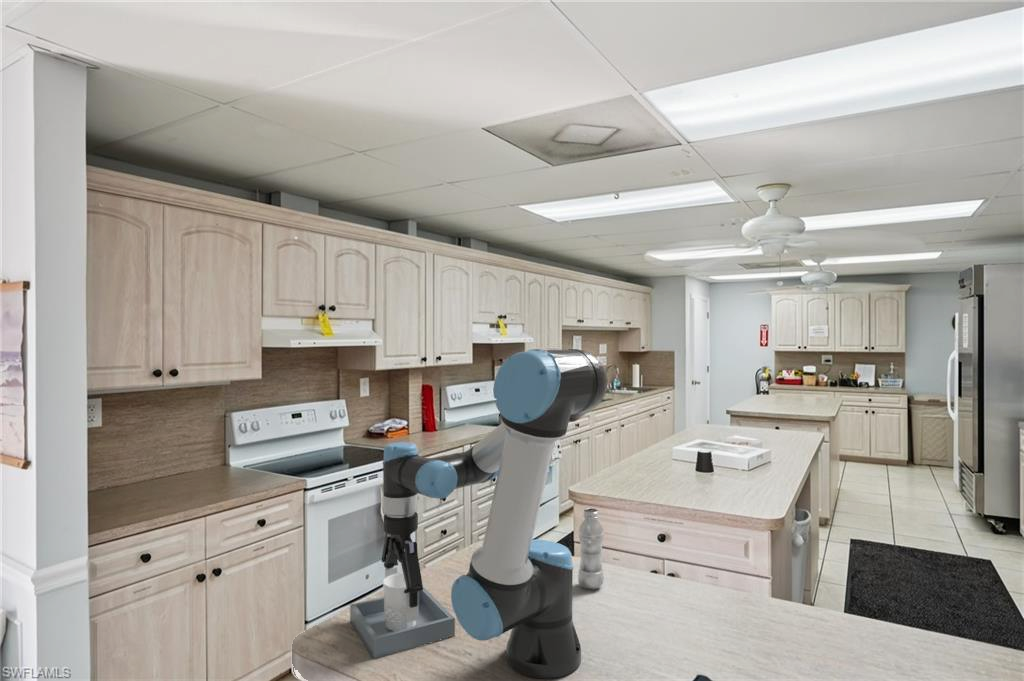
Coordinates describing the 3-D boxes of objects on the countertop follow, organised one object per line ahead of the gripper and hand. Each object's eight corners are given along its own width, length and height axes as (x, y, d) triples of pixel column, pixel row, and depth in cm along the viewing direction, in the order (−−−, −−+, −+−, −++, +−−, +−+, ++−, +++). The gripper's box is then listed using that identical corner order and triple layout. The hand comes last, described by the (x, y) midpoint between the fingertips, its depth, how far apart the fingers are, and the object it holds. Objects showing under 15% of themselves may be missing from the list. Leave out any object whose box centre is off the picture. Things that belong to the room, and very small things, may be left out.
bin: (454, 636, 128) (454, 617, 128) (373, 659, 119) (373, 639, 119) (424, 603, 144) (424, 587, 144) (350, 621, 135) (350, 604, 135)
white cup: (422, 617, 135) (422, 573, 135) (413, 634, 127) (414, 588, 127) (388, 615, 136) (388, 572, 136) (378, 632, 128) (378, 586, 128)
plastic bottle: (573, 584, 155) (573, 508, 154) (595, 580, 157) (595, 505, 157) (586, 594, 149) (586, 515, 149) (608, 589, 152) (608, 512, 151)
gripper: (438, 525, 122) (438, 627, 123) (398, 497, 144) (398, 583, 144) (403, 531, 119) (404, 636, 119) (368, 501, 140) (368, 590, 140)
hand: (401, 607), depth 132 cm, fingers open, 13 cm apart
